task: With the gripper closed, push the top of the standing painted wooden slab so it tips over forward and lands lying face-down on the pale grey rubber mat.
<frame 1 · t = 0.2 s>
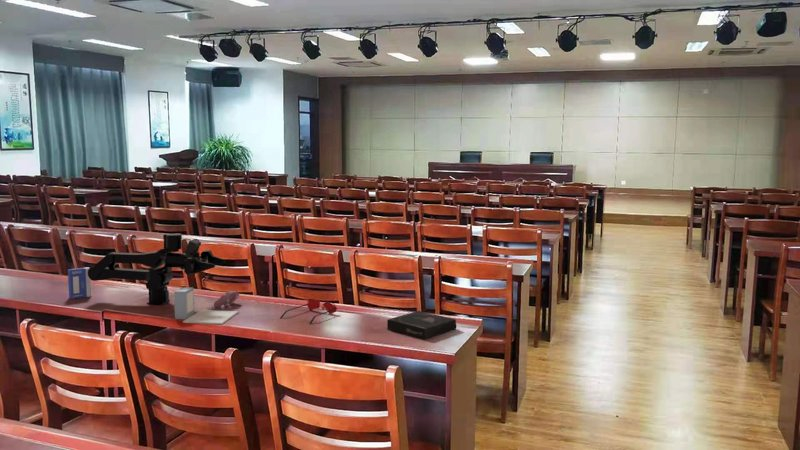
hand: (219, 263, 240), 16 cm above the table, tool horizontal, fingers open, 9 cm apart
slab: (184, 316, 225), on the table
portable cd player: (421, 331, 213), on the table
mat: (211, 317, 224), on the table
walkman: (80, 297, 252), on the table
video game controller: (227, 306, 242), on the table
glasses: (309, 317, 228), on the table
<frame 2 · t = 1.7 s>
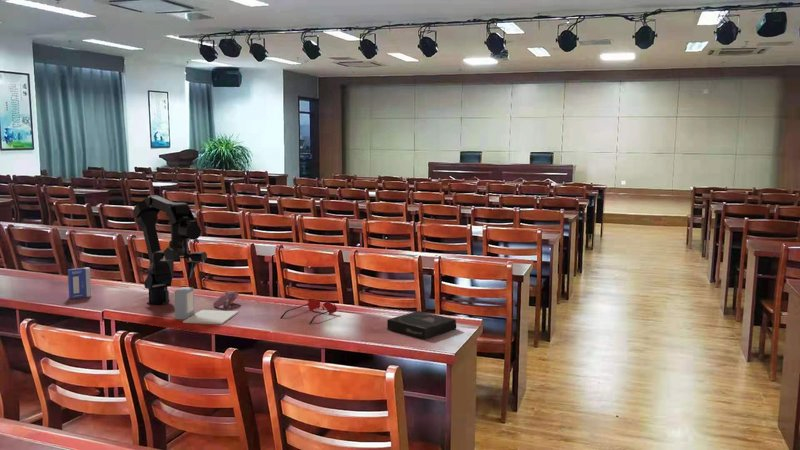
hand: (180, 278, 232), 12 cm above the table, tool pointing down, fingers open, 6 cm apart
nothing on the table moved.
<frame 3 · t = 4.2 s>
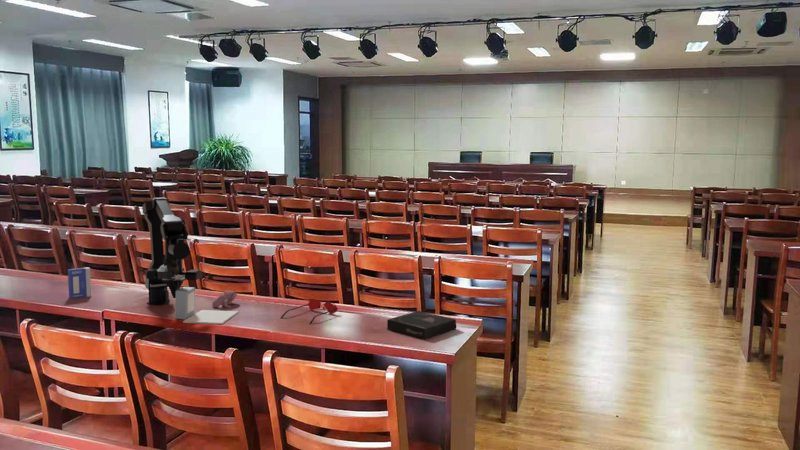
hand: (174, 297, 225), 7 cm above the table, tool pointing down, fingers closed
slab: (184, 316, 225), on the table, touching gripper
everything else where it was.
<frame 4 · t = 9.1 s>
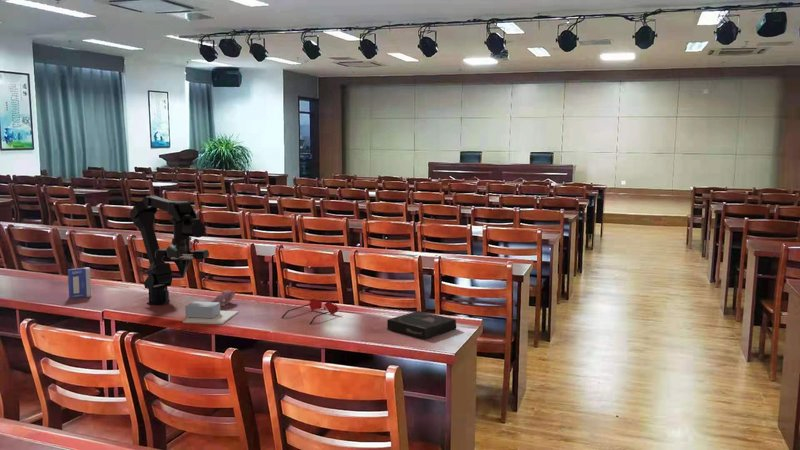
hand: (182, 276, 234), 13 cm above the table, tool pointing down, fingers closed
slab: (189, 309, 225), point 3 cm above the table, tilted 90°, touching mat
at the end: slab tilted 90°; slab inside the target area (7.1 cm from its centre), point 2.7 cm above the table; the gripper is holding nothing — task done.
